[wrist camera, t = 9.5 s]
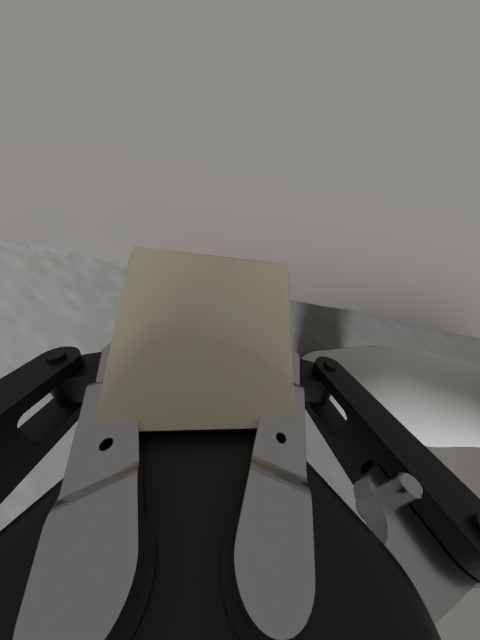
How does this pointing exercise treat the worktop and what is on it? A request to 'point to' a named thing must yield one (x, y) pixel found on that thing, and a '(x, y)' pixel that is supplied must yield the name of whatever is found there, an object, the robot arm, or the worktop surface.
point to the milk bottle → (418, 390)
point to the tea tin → (199, 343)
